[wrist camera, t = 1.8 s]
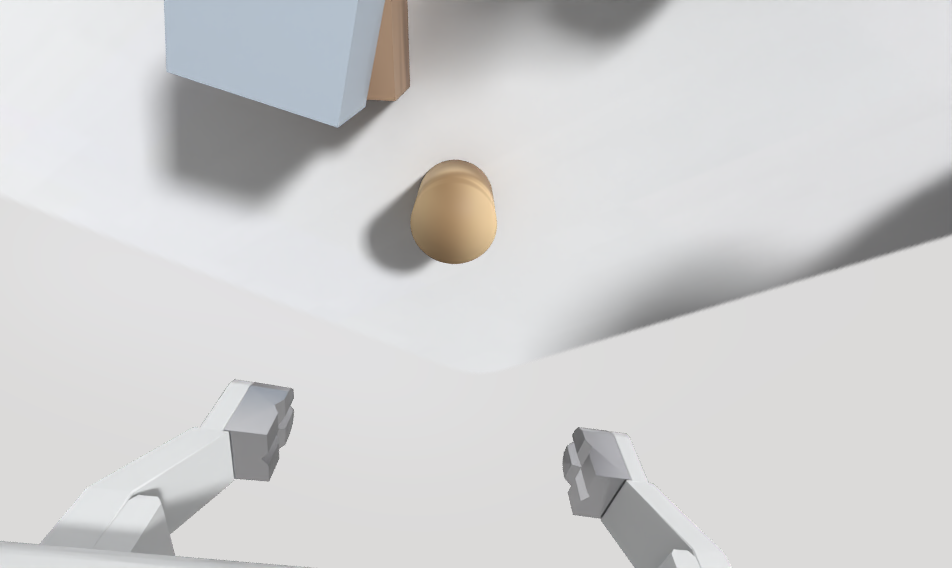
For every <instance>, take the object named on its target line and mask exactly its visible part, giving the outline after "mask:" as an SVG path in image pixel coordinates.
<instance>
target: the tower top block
mask: <svg viewBox="0 0 952 568" xmlns="http://www.w3.org/2000/svg"><path fill="white" fill-rule="evenodd" d="M384 4H385V0H164V13H165V41H166V68H167V72H169V73H172V74H175V75H178V76H181V77H184V78H187V79H190V80H193V81H196V82H199V83H202V84H205V85H208V86H211V87H215V88H218V89H221V90H224V91H227V92H230V93H233V94H236V95H239V96H242V97H245V98H248V99H251V100H254V101H257V102H260V103H264V104H267V105H270V106H273V107H276V108H279V109H282V110H285V111H288V112H291V113H294V114H297V115H300V116H303V117H306V118H309V119H313V120H316V121H319V122H322V123H325V124H328V125H331V126H334V127H337V128H338V127H339V126H341V125H342V124H343V123H345V122H346V121H347V120H349V119H350V118H351V117H353V116H354V115H355V114H357V113H358V112H359V111H361V110H362V109H363V108H365V106H366V100H367V95H368V90H369V84H370V79H371V73H372V68H373V63H374V57H375V52H376V47H377V41H378V36H379V30H380V25H381V20H382V14H383V9H384Z"/></svg>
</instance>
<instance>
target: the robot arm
mask: <svg viewBox="0 0 952 568" xmlns="http://www.w3.org/2000/svg"><path fill="white" fill-rule="evenodd" d="M293 398H294V392H293V389H292V388H287V387H281V386H275V385H269V384H263V383H256V382H248V381H242V380H236V379H234V380H233V381H232V382H231V383H230V384H229V385H228V386H227V388H226V389H225V390H224V392H223V394H222V395H221V396H220V398H219V399H218V401H217V402H216V404H215V406H214V407H213V408H212V410H211V412H210V413H209V414H208V416H207V417H206V419H205V420H204V422H203V423H202V425H201V426H200V427H199V428H198V427H193V428H191V429H189V430H187V431H185V432H184V433H182V434H180V435H178V436H177V437H175V438H173V439H171V440H170V441H168V442H166V443H164V444H163V445H161V446H159V447H158V448H156V449H154V450H152V451H150V452H149V453H147V454H145V455H143V456H141V457H140V458H138V459H137V460H135V461H133V462H131V463H129V464H127V465H126V466H124V467H122V468H120V469H119V470H117V471H115V472H113V473H112V474H110V475H108V476H106V477H105V478H103V479H101V480H99V481H98V482H96V483H94V484H92V485H91V486H89V487H87V488H86V489H85V490H84V492H83V493H82V494H81V495H80V496H79V497H78V499H77V500H76V501H75V502H74V504H73V505H72V506H71V507H70V508H69V510H68V511H67V512H66V513H65V514H64V515H63V517H62V518H61V519H60V520H59V521H58V523H57V524H56V525H55V526H54V527H53V529H52V530H51V531H50V532H49V533H48V535H47V536H46V537H45V538H44V539H43V541H42V542H41V543H40V544H29V543H28V544H27V543H17V542H5V541H0V568H308V567H297V566H286V565H273V564H262V563H249V562H239V561H226V560H214V559H203V558H191V557H180V556H175V553H174V549H173V545H172V542H171V538H170V534H171V533H172V532H173V531H175V530H176V529H177V528H178V527H179V526H181V525H182V524H183V523H184V522H185V521H187V520H188V519H189V518H190V517H191V516H193V515H194V514H195V513H196V512H197V511H199V510H200V509H201V508H202V507H203V506H205V504H207V503H208V502H209V501H210V500H212V499H213V498H214V497H215V496H216V495H217V494H219V493H220V492H221V491H222V490H223V489H225V488H226V487H227V486H228V485H230V484H231V483H232V482H233V481H234V479H246V480H258V481H269V480H270V478H271V476H272V474H273V471H274V469H275V467H276V465H277V462H278V460H279V448H281V447H282V446H284V445H285V444H286V442H287V439H288V437H289V434H290V431H291V427H292V424H293V416H294V409H293V408H292V407H291V406H290V405H291V403H292V401H293ZM573 441H574V442H572V443H571V444H569V445H568V446H567V447H566V449H565V452H564V456H563V472H564V477H565V479H566V480H567V481H568V483H569V484H570V485H571V488H570V490H569V491H568V495H569V499H570V504H571V508H572V512H573V515H579V516H586V517H594V518H600V519H601V521H602V522H603V524H604V525H605V527H606V528H607V530H608V531H609V532H610V534H611V535H612V537H613V538H614V539H615V541H616V542H617V543H618V545H619V546H620V548H621V549H622V550H623V552H624V553H625V555H626V556H627V557H628V559H629V560H630V562H631V563H632V564H633V566H634V567H635V568H732V567H731V565H730V563H729V561H728V559H727V557H726V555H725V553H724V552H723V551H722V550H721V549H720V548H719V547H718V546H717V545H716V544H715V543H714V542H713V541H711V539H710V538H709V537H708V536H707V535H706V534H705V533H703V531H701V530H700V529H699V528H698V527H697V526H696V525H695V524H694V523H693V522H692V521H691V520H690V519H689V518H688V517H687V516H686V515H685V514H684V513H683V512H682V511H681V510H680V509H679V508H678V507H677V506H676V505H675V504H674V503H673V502H672V501H671V500H670V499H669V498H668V497H667V496H666V495H665V494H664V493H663V492H662V491H661V490H660V489H659V488H657V486H655V485H654V484H653V483H649V482H648V480H647V477H646V475H645V473H644V470H643V468H642V465H641V463H640V461H639V458H638V456H637V453H636V451H635V448H634V446H633V444H632V441H631V439H630V437H629V436H628V435H627V434H626V433H618V432H609V431H604V430H596V429H588V428H580V427H578V428H577V429H576V430H575V431H574V433H573Z"/></svg>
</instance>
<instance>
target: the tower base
mask: <svg viewBox="0 0 952 568" xmlns="http://www.w3.org/2000/svg"><path fill="white" fill-rule="evenodd" d="M409 87H410V73H409V38H408V4H407V0H385V4H384V9H383V14H382V20H381V25H380V30H379V36H378V41H377V47H376V52H375V57H374V63H373V68H372V73H371V79H370V84H369V90H368V95H367V100H385V101H396V100H397V99H398V98H399V97H400V96H401V95H402V94H403V93H404V92H405V91H406V90H407V89H408V88H409Z"/></svg>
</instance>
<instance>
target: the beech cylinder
mask: <svg viewBox="0 0 952 568" xmlns="http://www.w3.org/2000/svg"><path fill="white" fill-rule="evenodd" d="M410 224H411V232H412V235H413V238H414V240H415V242H416V244H417V245H418V246H419V248H420V249H421V250H422V251H423V252H424V253H425V254H427V255H428V256H429V257H431V258H433V259H435V260H437V261H440V262H443V263H449V264H460V263H465V262H469V261H472V260H474V259H476V258H478V257H479V256H481V255H482V254H483V253H484V252H485V251H486V250H487V249H488V248H489V247H490V245H491V244H492V242H493V240H494V237H495V234H496V229H497V220H496V213H495V206H494V200H493V193H492V188H491V185H490V182H489V180H488V178H487V177H486V175H485V174H484V173H483V172H482V171H481V170H480V169H479V168H478V167H477V166H475V165H473V164H471V163H469V162H466V161H462V160H448V161H444V162H441V163H439V164H437V165H435V166H434V167H432V168H431V169H430V170H429V171H428V172H427V173H426V175H425V176H424V178H423V180H422V182H421V184H420V188H419V191H418V194H417V197H416V201H415V204H414V207H413V210H412V214H411V221H410Z"/></svg>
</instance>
